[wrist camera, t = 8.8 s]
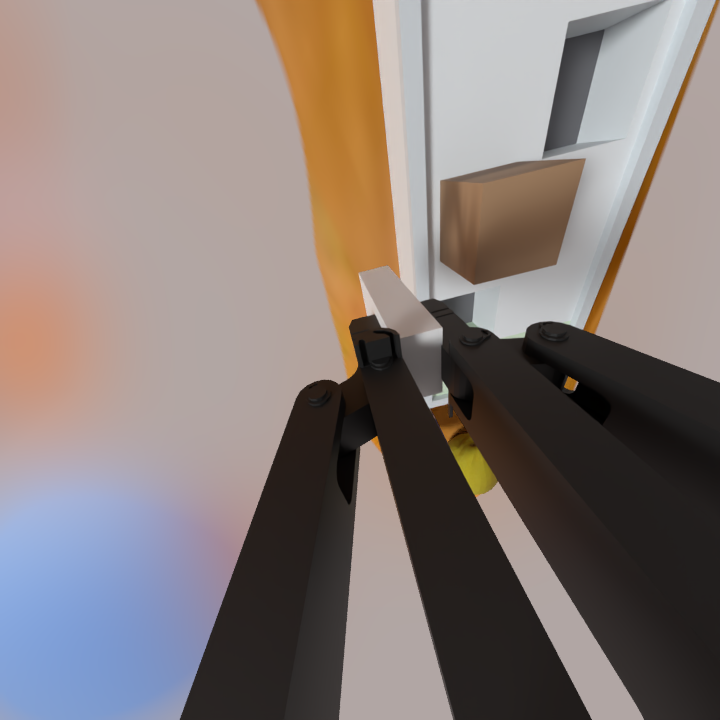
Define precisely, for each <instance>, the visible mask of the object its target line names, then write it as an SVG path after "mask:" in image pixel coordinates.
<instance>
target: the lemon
mask: <svg viewBox="0 0 720 720" xmlns="http://www.w3.org/2000/svg"><path fill="white" fill-rule="evenodd" d="M448 445H449V446H450V448H451V451H452V453H453V455H454V457H455V459H456V461H457V463H458V465H459V466H460V468H461V470H462V472H463V474H464V476H465V478H466V480H467V482H468V484H469V486H470V488H471V489H472V491H473V493H474V495H478V494H484V493H486V492H488V491H489V490H491V489H492V488H493V487H494V486H495V485H496V483H497V481H498V480H497V479H496V477H495V475H494V474H493V472H492V471H491V469H490V467H489V466H488V464H487V462H486V461H485V459H484V458H483V456H482V454H481V453H480V451H479V449H478V448H477V446H476V445H475V443H474V441H473V440H472V438H471V437H470V435H469V433H465V434H460V435H457V436H455V437H454V438H452V439H451V440H450V441H449V442H448Z"/></svg>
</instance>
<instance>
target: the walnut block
mask: <svg viewBox="0 0 720 720" xmlns="http://www.w3.org/2000/svg"><path fill="white" fill-rule="evenodd" d="M585 161H586V158H582V159H562V160H541V161H521V162H514V163H510V164H506V165H502V166H498V167H494V168H490V169H485V170H481V171H477V172H473V173H469V174H465V175H461V176H457V177H453V178H449V179H444V180H440V262H442V263H443V264H444V265H446V266H447V267H449V268H450V269H452V270H453V271H455V272H456V273H457V274H459V275H460V276H462V277H463V278H465V279H466V280H467V281H469V282H470V283H472V284H473V285H477V284H481V283H485V282H489V281H493V280H497V279H501V278H505V277H509V276H513V275H517V274H521V273H525V272H529V271H533V270H537V269H541V268H545V267H549V266H553V265H556V264H557V260H558V257H559V253H560V250H561V246H562V243H563V239H564V235H565V232H566V228H567V225H568V221H569V218H570V214H571V211H572V207H573V203H574V200H575V196H576V193H577V189H578V186H579V182H580V179H581V175H582V171H583V168H584V164H585Z"/></svg>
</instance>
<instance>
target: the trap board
mask: <svg viewBox="0 0 720 720" xmlns="http://www.w3.org/2000/svg"><path fill="white" fill-rule="evenodd" d="M715 1H716V0H373V8H374V18H375V28H376V38H377V48H378V58H379V69H380V79H381V89H382V99H383V109H384V119H385V129H386V139H387V149H388V159H389V169H390V179H391V189H392V199H393V209H394V219H395V230H396V240H397V250H398V260H399V270H400V280H401V281H402V282H403V283H404V285H405V286H406V287H407V288H408V289H409V290H410V291H411V292H412V294H413V295H414V296H415V297H416V298H417V299H418V300H419V301H420V302H421V301H424V300H428V299H432V298H433V299H436V300H439V301H442V302H443V303H445V304H446V305H447V306H448V307H449V309H451V310H452V311H453V312H454V314H456V315H457V316H458V317H459V318H461V319H462V320H463V321H464V322H465V323H466V324H467V325H468V326H469V327H479V328H483V329H487V330H489V331H491V332H492V333H494V334H495V335H496V336H497V337H499V338H500V339H507V338H524V337H525V333H526V329H527V327H529V326H530V325H532V324H534V323H538V322H545V321H546V322H547V321H553V322H561V323H564V324H568V325H571V326H574V327H577V328H579V329H582V330H583V328H584V326H585V323H586V321H587V318H588V316H589V313H590V311H591V308H592V306H593V304H594V301H595V299H596V296H597V294H598V291H599V289H600V286H601V284H602V281H603V279H604V276H605V274H606V271H607V269H608V266H609V264H610V261H611V259H612V256H613V254H614V251H615V249H616V246H617V244H618V241H619V239H620V236H621V234H622V232H623V229H624V227H625V224H626V222H627V219H628V217H629V214H630V212H631V209H632V207H633V204H634V202H635V199H636V197H637V194H638V192H639V189H640V187H641V184H642V182H643V179H644V177H645V174H646V172H647V169H648V167H649V164H650V162H651V160H652V157H653V155H654V152H655V150H656V147H657V145H658V142H659V140H660V137H661V135H662V132H663V130H664V127H665V125H666V122H667V120H668V117H669V115H670V112H671V110H672V107H673V105H674V102H675V100H676V97H677V95H678V92H679V90H680V88H681V85H682V83H683V80H684V78H685V75H686V73H687V70H688V68H689V65H690V63H691V60H692V58H693V55H694V53H695V50H696V48H697V45H698V43H699V40H700V38H701V35H702V33H703V30H704V28H705V25H706V23H707V20H708V18H709V16H710V13H711V11H712V8H713V6H714V3H715ZM582 158H586V161H585V164H584V168H583V171H582V175H581V179H580V182H579V186H578V189H577V193H576V196H575V200H574V203H573V207H572V211H571V214H570V218H569V221H568V225H567V228H566V232H565V235H564V239H563V243H562V246H561V250H560V253H559V257H558V260H557V264H556V265H553V266H549V267H545V268H541V269H537V270H533V271H529V272H525V273H521V274H517V275H513V276H509V277H505V278H501V279H497V280H493V281H489V282H485V283H481V284H477V285H473V284H472V283H470V282H469V281H467V280H466V279H465V278H463V277H462V276H460V275H459V274H457V273H456V272H455V271H453V270H452V269H450V268H449V267H447V266H446V265H444V264H443V263H442V262H440V180H444V179H449V178H453V177H457V176H461V175H465V174H469V173H473V172H477V171H481V170H485V169H490V168H494V167H498V166H502V165H506V164H510V163H514V162H521V161H541V160H562V159H582ZM423 398H424V400H425V401H426V403H427V405H428V407H429V409H430V408H433V407H437V406H441V405H445V404H448V388H447V387H446V385H445V384H444V382H443V392H442V393H438V394H434V395H430V396H426V397H423Z"/></svg>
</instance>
